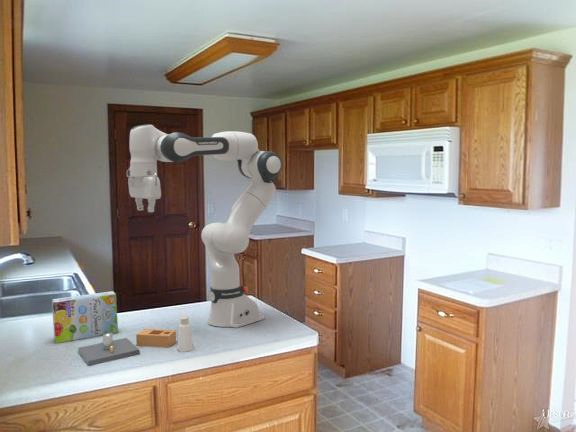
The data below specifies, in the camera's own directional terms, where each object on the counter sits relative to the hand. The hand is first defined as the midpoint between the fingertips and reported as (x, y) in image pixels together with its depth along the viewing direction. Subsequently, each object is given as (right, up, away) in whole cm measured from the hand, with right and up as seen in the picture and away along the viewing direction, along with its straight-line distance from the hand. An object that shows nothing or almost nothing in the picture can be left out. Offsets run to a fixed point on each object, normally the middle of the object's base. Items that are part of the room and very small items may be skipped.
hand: (145, 211), depth 171 cm
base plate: (-10, -47, -9) cm, 49 cm away
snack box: (-24, -46, +8) cm, 52 cm away
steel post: (-10, -47, -9) cm, 49 cm away
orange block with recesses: (+4, -46, -1) cm, 46 cm away
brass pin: (-7, -47, -13) cm, 50 cm away
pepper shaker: (+15, -47, -6) cm, 50 cm away
